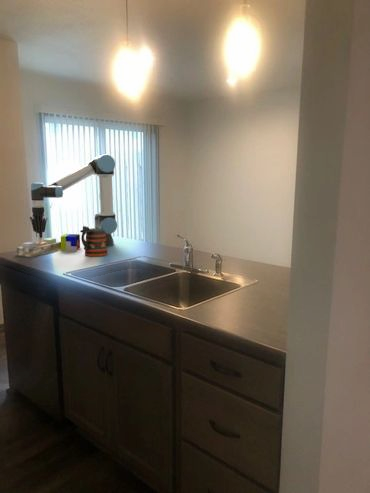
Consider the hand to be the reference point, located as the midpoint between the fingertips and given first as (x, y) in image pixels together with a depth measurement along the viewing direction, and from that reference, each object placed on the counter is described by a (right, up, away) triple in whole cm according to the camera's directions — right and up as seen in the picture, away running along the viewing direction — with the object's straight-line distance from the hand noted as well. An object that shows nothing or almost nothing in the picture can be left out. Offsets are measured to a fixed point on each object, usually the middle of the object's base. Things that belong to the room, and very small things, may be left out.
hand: (39, 242), depth 252 cm
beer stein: (+37, -9, -5) cm, 39 cm away
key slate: (-3, -4, -8) cm, 9 cm away
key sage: (+4, -1, +9) cm, 10 cm away
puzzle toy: (+17, -5, +11) cm, 21 cm away
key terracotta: (0, -4, +1) cm, 4 cm away
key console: (0, -6, +1) cm, 7 cm away
